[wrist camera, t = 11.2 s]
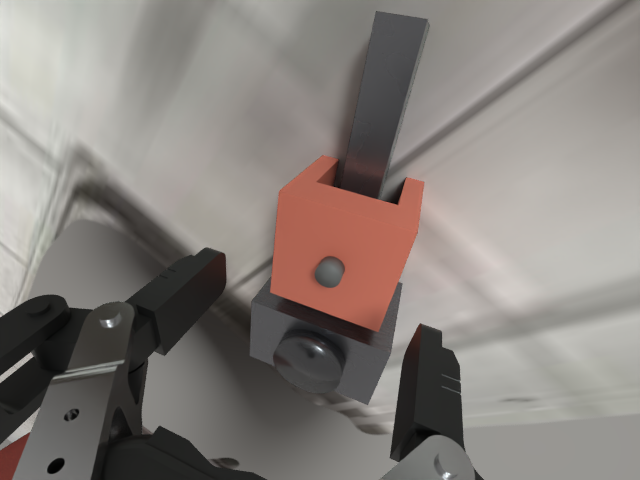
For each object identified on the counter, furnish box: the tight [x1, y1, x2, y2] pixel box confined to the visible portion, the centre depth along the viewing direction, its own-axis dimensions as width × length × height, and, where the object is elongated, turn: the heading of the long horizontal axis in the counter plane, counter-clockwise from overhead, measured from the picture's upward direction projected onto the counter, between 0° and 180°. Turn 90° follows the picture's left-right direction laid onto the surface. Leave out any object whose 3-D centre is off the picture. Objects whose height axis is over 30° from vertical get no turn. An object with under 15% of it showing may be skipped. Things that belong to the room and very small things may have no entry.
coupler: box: [250, 11, 430, 405], centre depth 16 cm, size 19×8×7 cm, turn 171°
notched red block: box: [270, 155, 424, 332], centre depth 16 cm, size 6×6×7 cm
